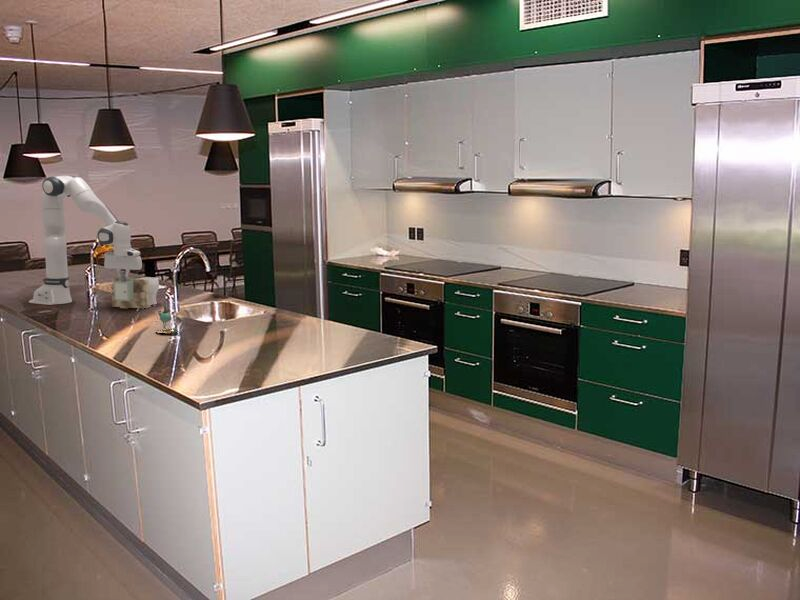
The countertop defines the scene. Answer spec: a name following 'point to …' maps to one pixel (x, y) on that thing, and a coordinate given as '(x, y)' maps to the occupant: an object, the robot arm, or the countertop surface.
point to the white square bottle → (124, 288)
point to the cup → (152, 289)
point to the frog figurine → (166, 320)
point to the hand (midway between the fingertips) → (123, 277)
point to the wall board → (139, 295)
